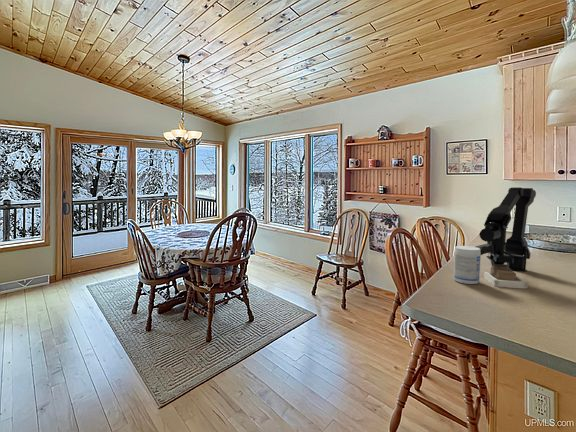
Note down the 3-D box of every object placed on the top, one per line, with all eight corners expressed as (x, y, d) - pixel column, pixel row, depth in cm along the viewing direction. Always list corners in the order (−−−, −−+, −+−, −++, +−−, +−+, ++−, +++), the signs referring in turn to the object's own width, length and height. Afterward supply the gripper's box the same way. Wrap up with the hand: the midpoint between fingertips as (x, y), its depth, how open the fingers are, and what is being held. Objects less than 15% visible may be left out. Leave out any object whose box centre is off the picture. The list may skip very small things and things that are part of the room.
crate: (490, 277, 132) (491, 263, 131) (505, 278, 130) (506, 264, 130) (498, 284, 123) (499, 268, 123) (515, 285, 122) (516, 269, 121)
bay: (483, 277, 133) (484, 271, 132) (513, 279, 129) (513, 273, 129) (494, 286, 121) (495, 280, 121) (527, 288, 118) (528, 282, 118)
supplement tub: (482, 286, 121) (484, 250, 120) (456, 283, 124) (458, 249, 123) (475, 278, 131) (477, 246, 129) (451, 277, 133) (452, 244, 132)
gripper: (470, 234, 143) (468, 266, 144) (484, 242, 125) (482, 278, 126) (497, 235, 140) (494, 268, 141) (515, 243, 122) (512, 280, 123)
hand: (495, 273), depth 133 cm, fingers closed
